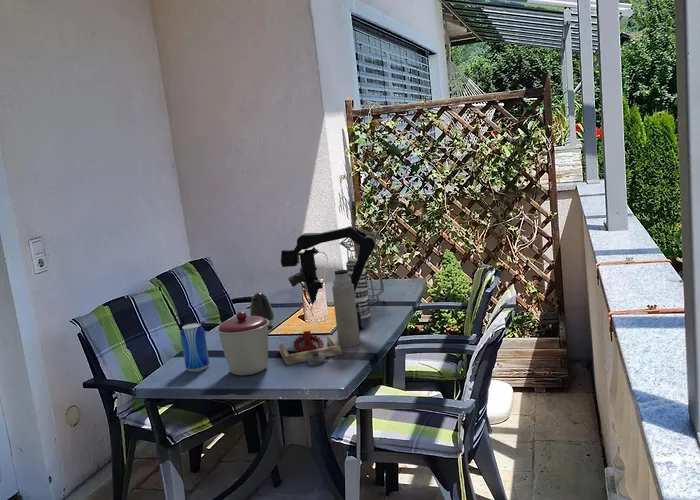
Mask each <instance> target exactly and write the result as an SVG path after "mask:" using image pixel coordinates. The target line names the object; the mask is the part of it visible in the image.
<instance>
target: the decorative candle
mask: <svg viewBox="0 0 700 500" xmlns="http://www.w3.org/2000/svg"><path fill="white" fill-rule="evenodd" d="M357 259H358V257H352V258H350V259H349V260H348V259H347V262H346V263H345V266H346V270H348V277H349V278H351V275H352V273H353V270H354V267H355V265H356V262H357ZM365 271H366V267H365V268H364V270H363V272H362V275H361V278H360V280H359V283H358V285H357V288H356V292H355V302H356V304H358V305H359V306H360V307H359V311H358V312H359V313H360V317H361V320H362V319H366V318H369V317H370V316H371V315H372V314H371V310H370V309H371V306H370V305H369V304H370V301H369V299H370V298H369V299H368V295H369V294H368V295H367V289H368V288H369V285H368V281H367V282H366V280H365V279H367V280H368V277H367V276H368V273H365ZM365 276H366V277H365ZM366 284H367V285H366ZM368 290H369V289H368Z"/></svg>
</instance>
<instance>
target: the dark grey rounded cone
mask: <svg viewBox="0 0 700 500" xmlns="http://www.w3.org/2000/svg"><path fill="white" fill-rule="evenodd" d="M250 300H251V301H250V302H251V303H250V307H249V308H250V309H249V316H260V317H263V318H265V319H268V320H269V324H268V328H270V327H271V326H272V325H273V323H274V318H275V315H274V311H273V307H272V305H271V303H270V301H269V299H268V297H267V296H266V295H265V294H264V293H263V292H256V293H255V294H254V295H253V296H252V297H251V298H250Z"/></svg>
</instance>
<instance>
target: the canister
mask: <svg viewBox="0 0 700 500" xmlns="http://www.w3.org/2000/svg"><path fill="white" fill-rule="evenodd" d="M235 316H236V317H235V318H234V317H233V318H230V319H227V320H225V321H224V322H221V323H220V324H219V325H218V326H217V327H215V330H216V333H218V335H219V339H220V343H221V347H222V350H223V354H224V357H225V361H226V364H227V367H228V370H229V371H230V373H231V374H233V375H236V376H250V375H255V374H258V373H260V372H263V371H264V370H265V369H266V368H267V366H268V362H269V332H268V331H269V330H268V329H269V327H268V324H269V320H268V319H265V318H263V317H260V316H250V315H247V313H246V312H245V311H238V312H237V313H236V315H235Z"/></svg>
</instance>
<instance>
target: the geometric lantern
mask: <svg viewBox="0 0 700 500" xmlns="http://www.w3.org/2000/svg"><path fill="white" fill-rule="evenodd" d="M356 229H357V230H359V231H361V232H363V233H365V234H366V235H371V236H373V237H374V238H375V239H376V246H375V248H374V249H373V250H375V253H371V254H370V256H372V257H369V258H368V259H367V262H366V264H367V269H368V274H369V279H370V286H371V287H367V288H368V289H367V295H368V299H369V303H370V304H369V305H368V306H370V305H374V304H375V303H377V302H379V301H380V299H379V297H380V296H381V294H383V293H385V288H384V283H383V282H384V281H383V277H382V271H381V267H380V262H379V254H378V251H377V245H378V244H379V243H380V241H381V240H382V239H383V237H382V236H380V235H378V234H375V233H373V232H371V231H368V230H365V229H364V228H360V227H359V228H356ZM339 246H342V247H344V248H346V253H347V261H348V260H349V259H352V258H355V257H358V255H359V248H360V245H358V244H356V243H355V242H354V241H353V240H352V239H350V238H349V237H347V238H343V240H342V241H340V242H339ZM358 246H359V247H358ZM355 247H358V248H355ZM351 248H353V249H351ZM349 252H351V253H349ZM353 252H356V254H355V255H353V256H352V254H353ZM349 254H350V256H349ZM375 257H376V261H377V262H376V263H377V268H378V276H379V283H380V288H374V287H373V281H372V275H371V274H372V273H371V270H370V262H369V260H371V259H374V258H375ZM364 268H365V269H366V266H365V267H364ZM366 271H367V270H365V273H366ZM366 274H367V273H366ZM365 277H367V275H366V276H365ZM365 280H366V282H368V281H367V280H368V278H367V279H365ZM366 285H367V286H368V283H367V284H366ZM369 290H371V291H372V292H371V293H372V294H369ZM376 290H377V291H379V292H378V293H376V294H375V293H374V291H376Z"/></svg>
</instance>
